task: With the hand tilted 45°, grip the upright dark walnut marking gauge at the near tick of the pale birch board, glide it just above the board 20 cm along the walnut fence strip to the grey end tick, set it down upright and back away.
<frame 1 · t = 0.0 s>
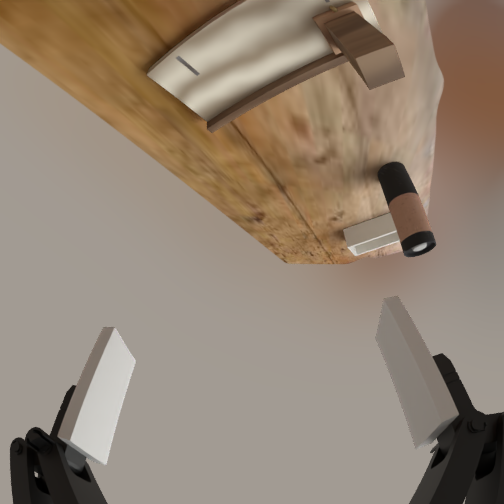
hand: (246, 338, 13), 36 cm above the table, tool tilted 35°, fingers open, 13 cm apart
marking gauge: (342, 26, 25), point 2 cm above the table, touching birch board
travel mug: (390, 170, 58), on the table
white rectangular planter box: (375, 224, 82), on the table
birch board: (265, 39, 29), on the table
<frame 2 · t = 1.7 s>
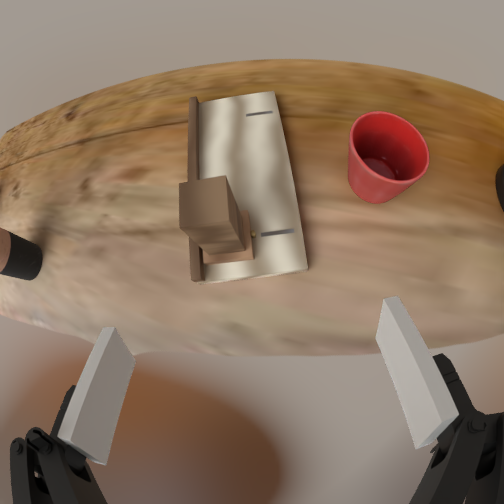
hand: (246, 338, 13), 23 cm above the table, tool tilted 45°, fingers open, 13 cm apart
flower pot: (371, 180, 38), on the table
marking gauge: (228, 239, 36), point 2 cm above the table, touching birch board
travel mug: (32, 262, 42), on the table
birch board: (241, 175, 40), on the table
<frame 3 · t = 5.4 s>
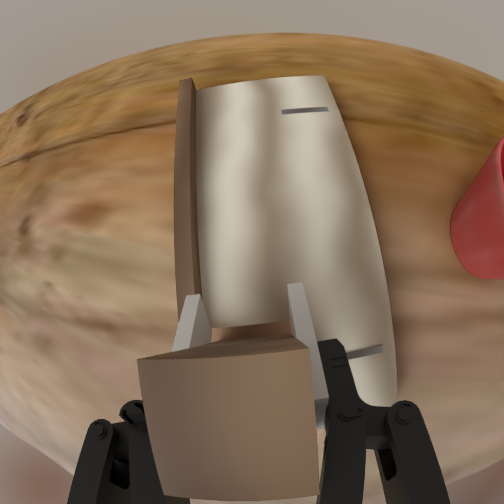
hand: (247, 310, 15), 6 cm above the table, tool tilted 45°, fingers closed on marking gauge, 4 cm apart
flower pot: (476, 238, 20), on the table
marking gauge: (259, 368, 17), point 2 cm above the table, touching birch board, gripper
birch board: (278, 228, 22), on the table
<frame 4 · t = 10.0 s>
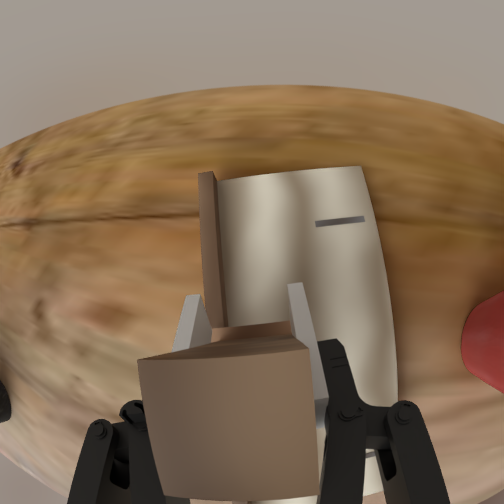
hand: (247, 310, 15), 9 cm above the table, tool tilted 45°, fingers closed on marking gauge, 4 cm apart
flower pot: (483, 338, 20), on the table
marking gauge: (260, 368, 17), point 5 cm above the table, touching gripper
birch board: (306, 352, 22), on the table
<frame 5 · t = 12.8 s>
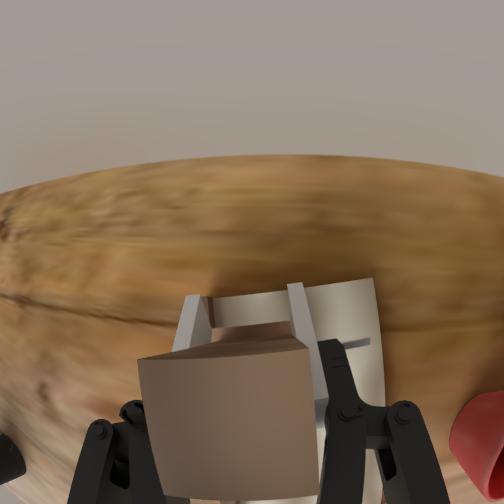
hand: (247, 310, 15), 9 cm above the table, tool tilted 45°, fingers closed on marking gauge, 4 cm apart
flower pot: (473, 424, 18), on the table
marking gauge: (259, 368, 17), point 5 cm above the table, touching gripper
travel mug: (12, 454, 20), on the table
birch board: (302, 455, 20), on the table
when the fingers open (7 cm above the table, at t = 14.9 s): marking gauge stays where it is, resting on birch board.
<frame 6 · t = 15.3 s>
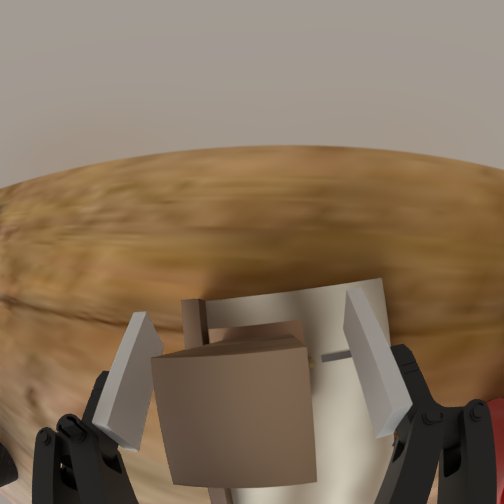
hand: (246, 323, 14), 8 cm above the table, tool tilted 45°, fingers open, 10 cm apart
flower pot: (483, 432, 16), on the table
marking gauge: (261, 367, 18), point 2 cm above the table, touching birch board
travel mug: (4, 459, 18), on the table
birch board: (303, 469, 17), on the table
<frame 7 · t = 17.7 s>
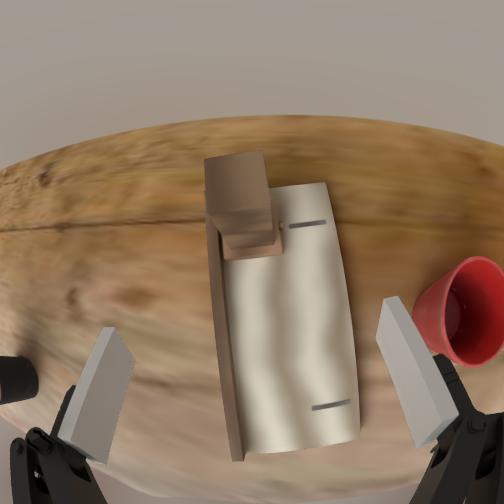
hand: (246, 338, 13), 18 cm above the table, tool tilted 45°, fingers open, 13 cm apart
flower pot: (435, 316, 29), on the table
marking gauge: (251, 231, 31), point 2 cm above the table, touching birch board
travel mug: (27, 377, 31), on the table
birch board: (284, 320, 30), on the table
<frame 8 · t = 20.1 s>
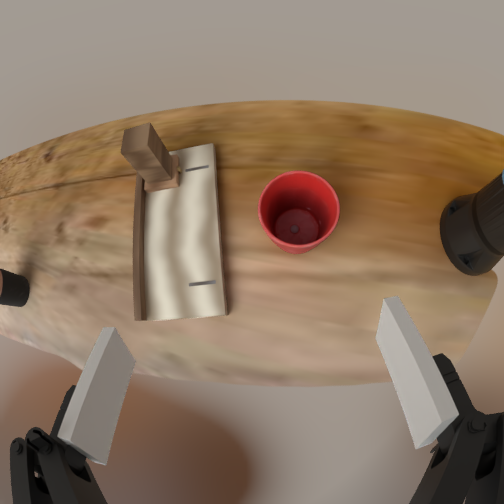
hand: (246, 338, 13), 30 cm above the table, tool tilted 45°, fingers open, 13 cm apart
flower pot: (295, 231, 45), on the table
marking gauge: (163, 175, 48), point 2 cm above the table, touching birch board
travel mug: (21, 291, 48), on the table
birch board: (179, 228, 47), on the table
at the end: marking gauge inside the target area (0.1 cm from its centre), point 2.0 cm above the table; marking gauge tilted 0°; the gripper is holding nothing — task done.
